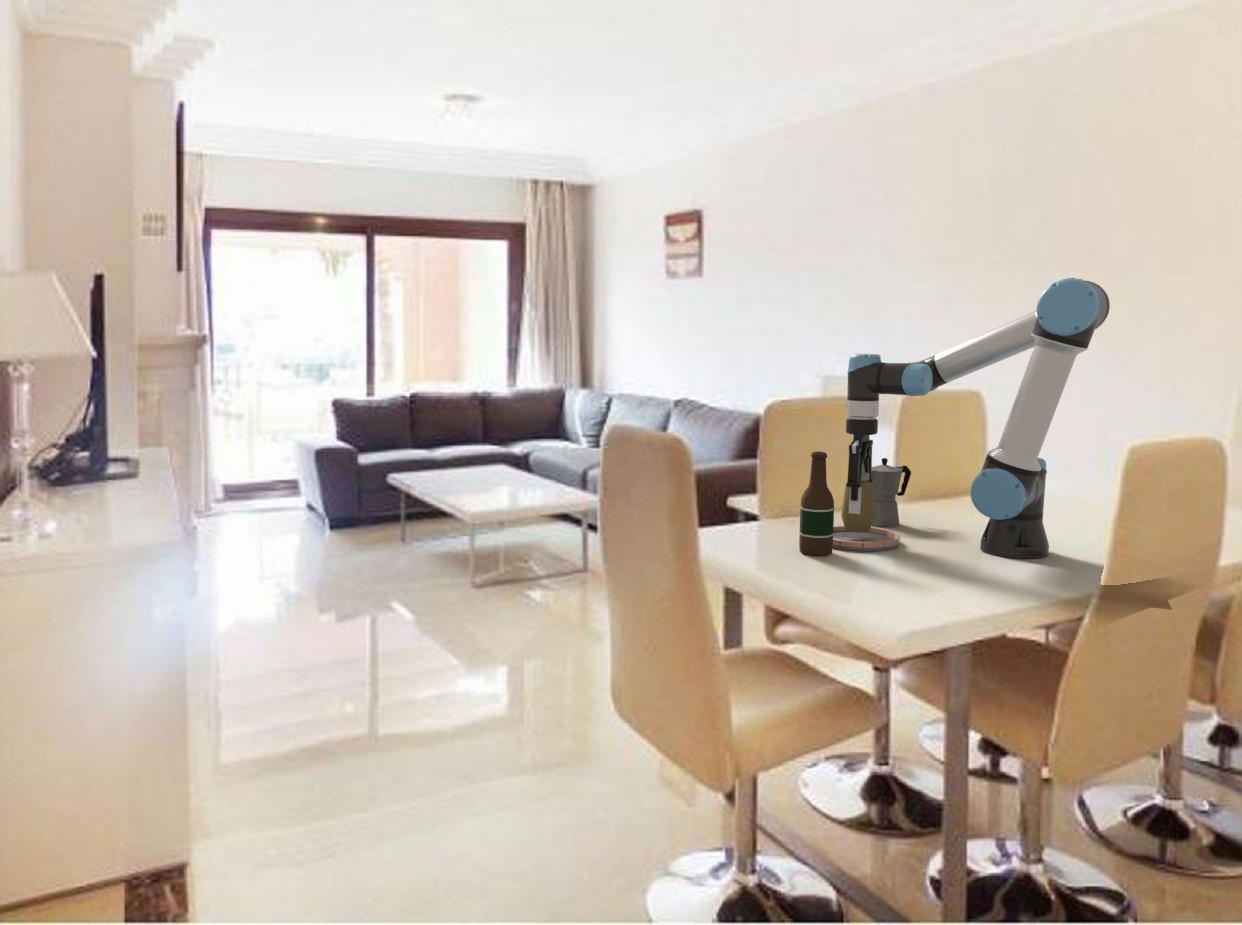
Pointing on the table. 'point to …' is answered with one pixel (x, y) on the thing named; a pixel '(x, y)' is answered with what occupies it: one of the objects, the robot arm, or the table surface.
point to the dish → (865, 540)
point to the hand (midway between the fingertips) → (858, 510)
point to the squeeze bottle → (866, 515)
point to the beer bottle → (817, 511)
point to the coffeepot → (887, 493)
